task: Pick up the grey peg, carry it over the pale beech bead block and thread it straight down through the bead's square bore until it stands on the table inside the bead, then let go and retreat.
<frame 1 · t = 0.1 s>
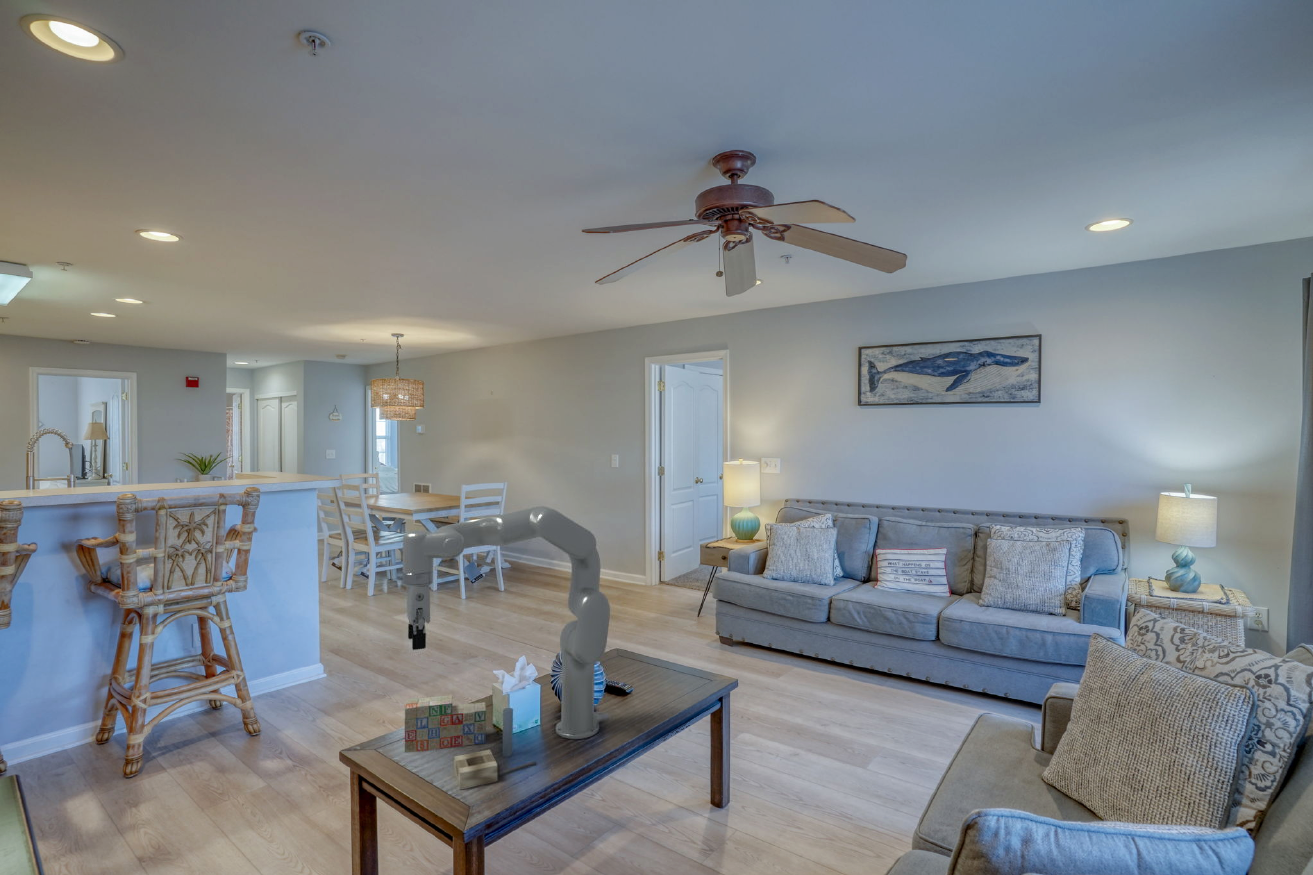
hand: (416, 643, 167), 31 cm above the table, fingers open, 9 cm apart
bead: (475, 776, 160), on the table
stack of blocks: (445, 744, 178), on the table
dark brown rod: (517, 769, 164), on the table
grey peg: (507, 754, 171), on the table
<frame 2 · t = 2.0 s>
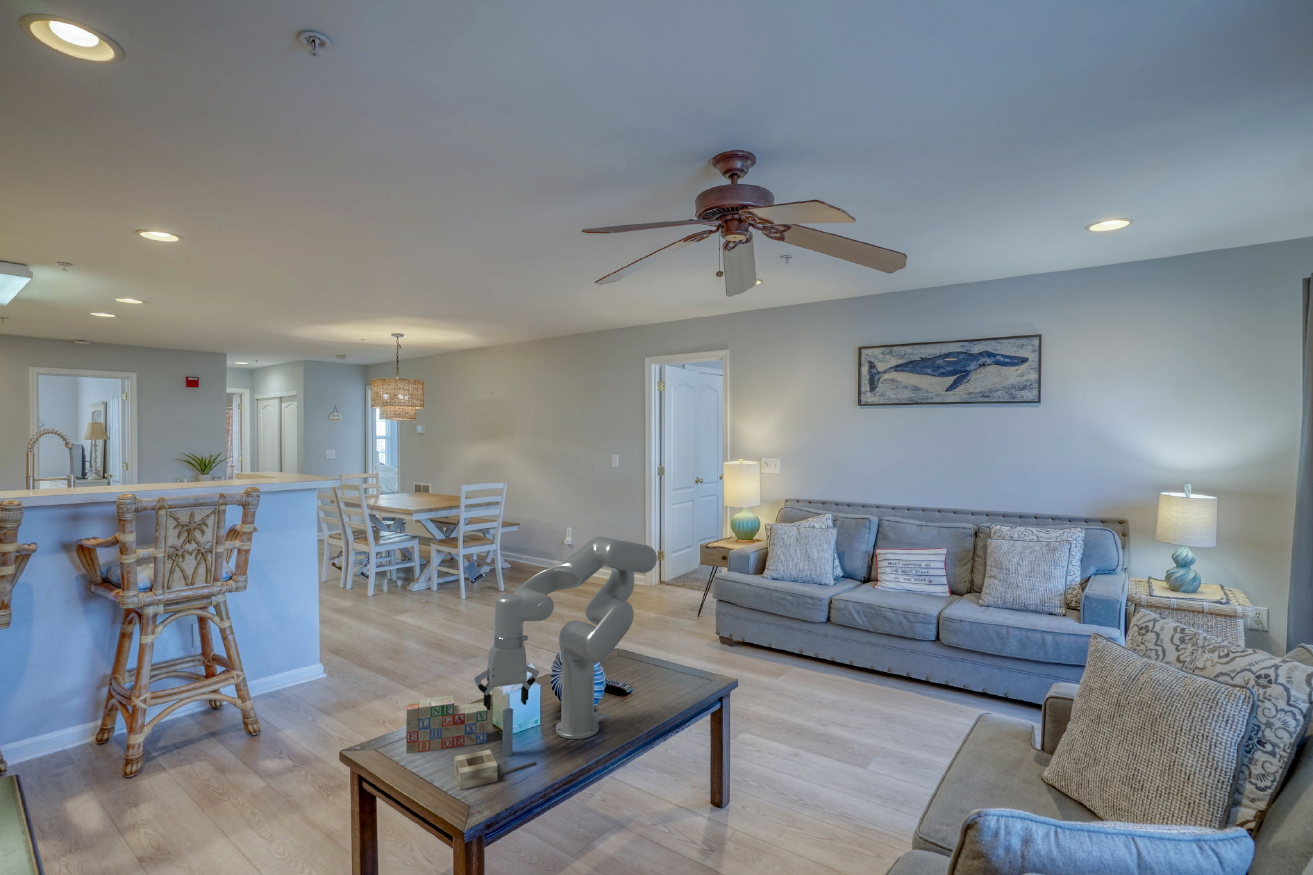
hand: (505, 705, 171), 13 cm above the table, fingers open, 9 cm apart
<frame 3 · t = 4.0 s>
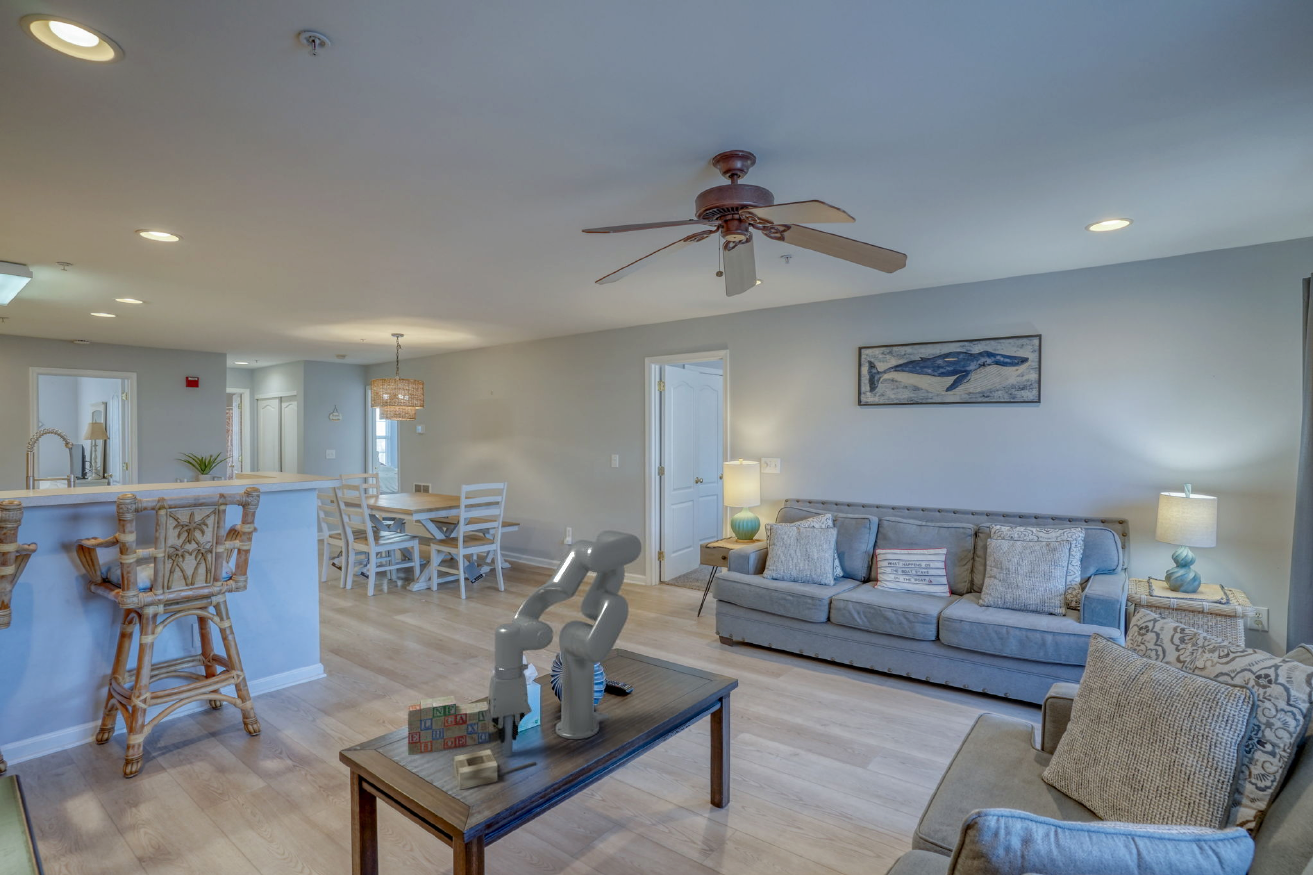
hand: (507, 738, 171), 4 cm above the table, fingers closed on grey peg, 2 cm apart
grey peg: (507, 754, 171), on the table, touching gripper
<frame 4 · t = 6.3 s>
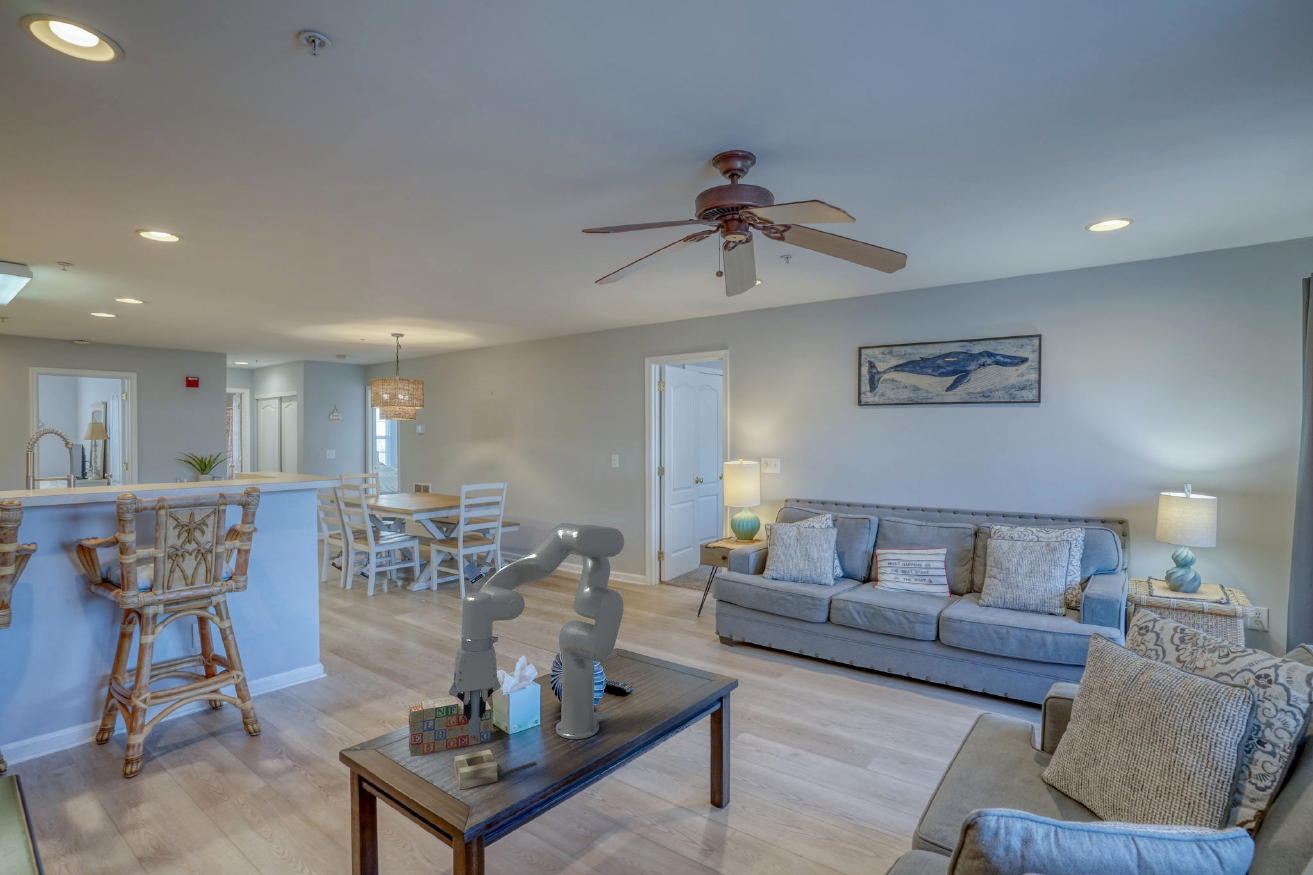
hand: (474, 716, 160), 15 cm above the table, fingers closed on grey peg, 2 cm apart
grey peg: (473, 733, 159), point 11 cm above the table, touching gripper
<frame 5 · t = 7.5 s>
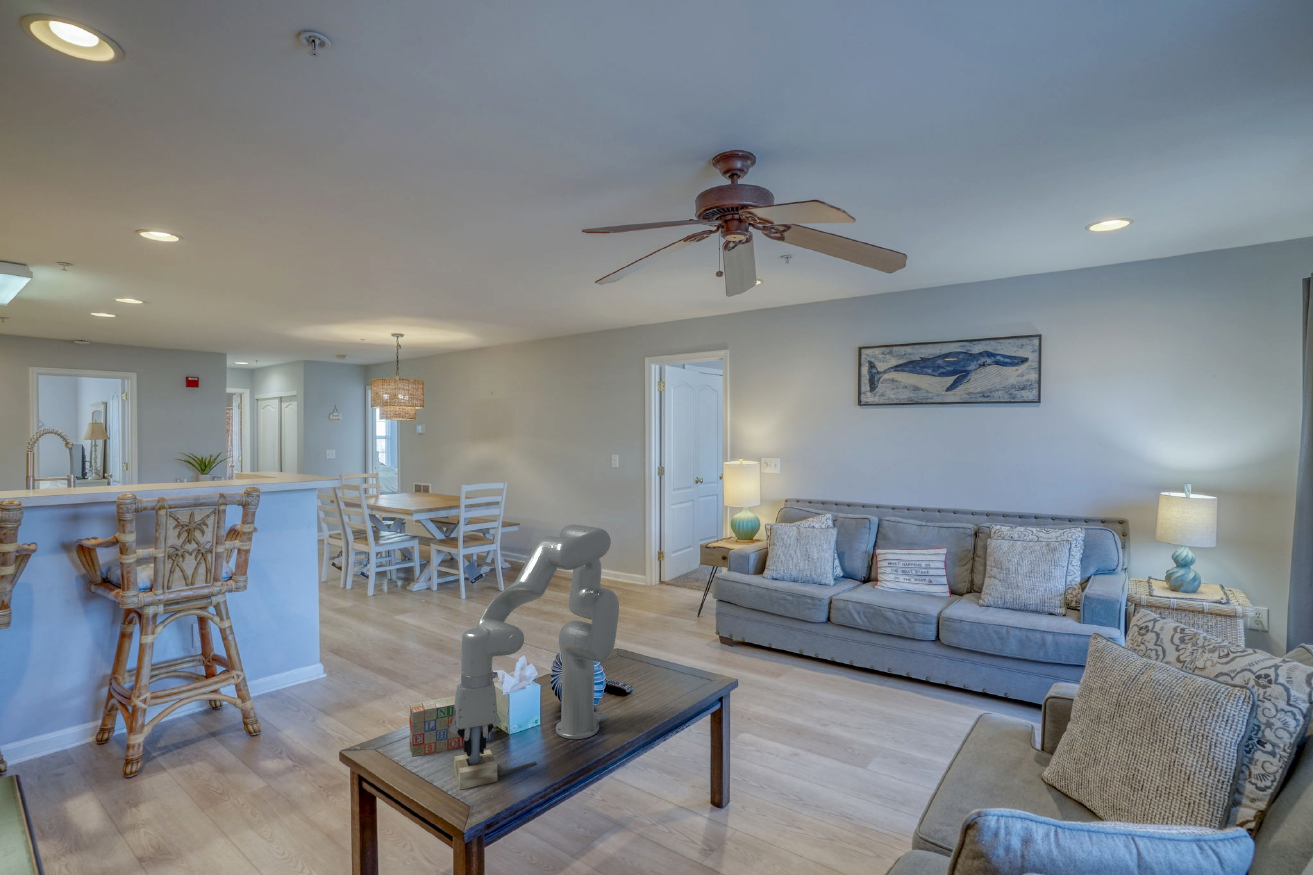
hand: (474, 752, 160), 6 cm above the table, fingers closed on grey peg, 2 cm apart
grey peg: (474, 768, 160), point 2 cm above the table, touching gripper
when the fingers open (5 cm above the table, at t = 8.7 s): grey peg stays where it is, resting in bead.
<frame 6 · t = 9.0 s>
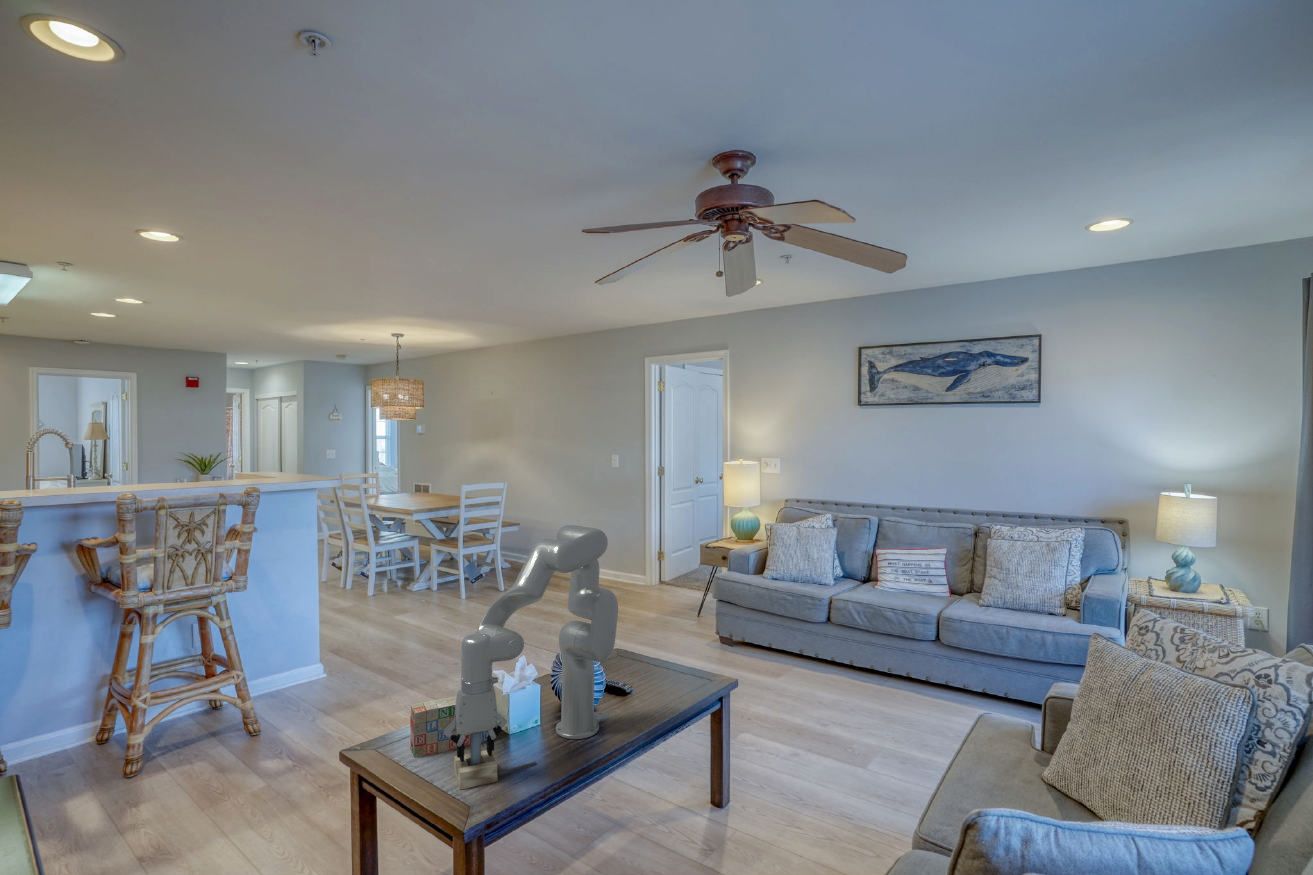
hand: (475, 755, 160), 5 cm above the table, fingers open, 6 cm apart
grey peg: (475, 776, 160), resting in bead
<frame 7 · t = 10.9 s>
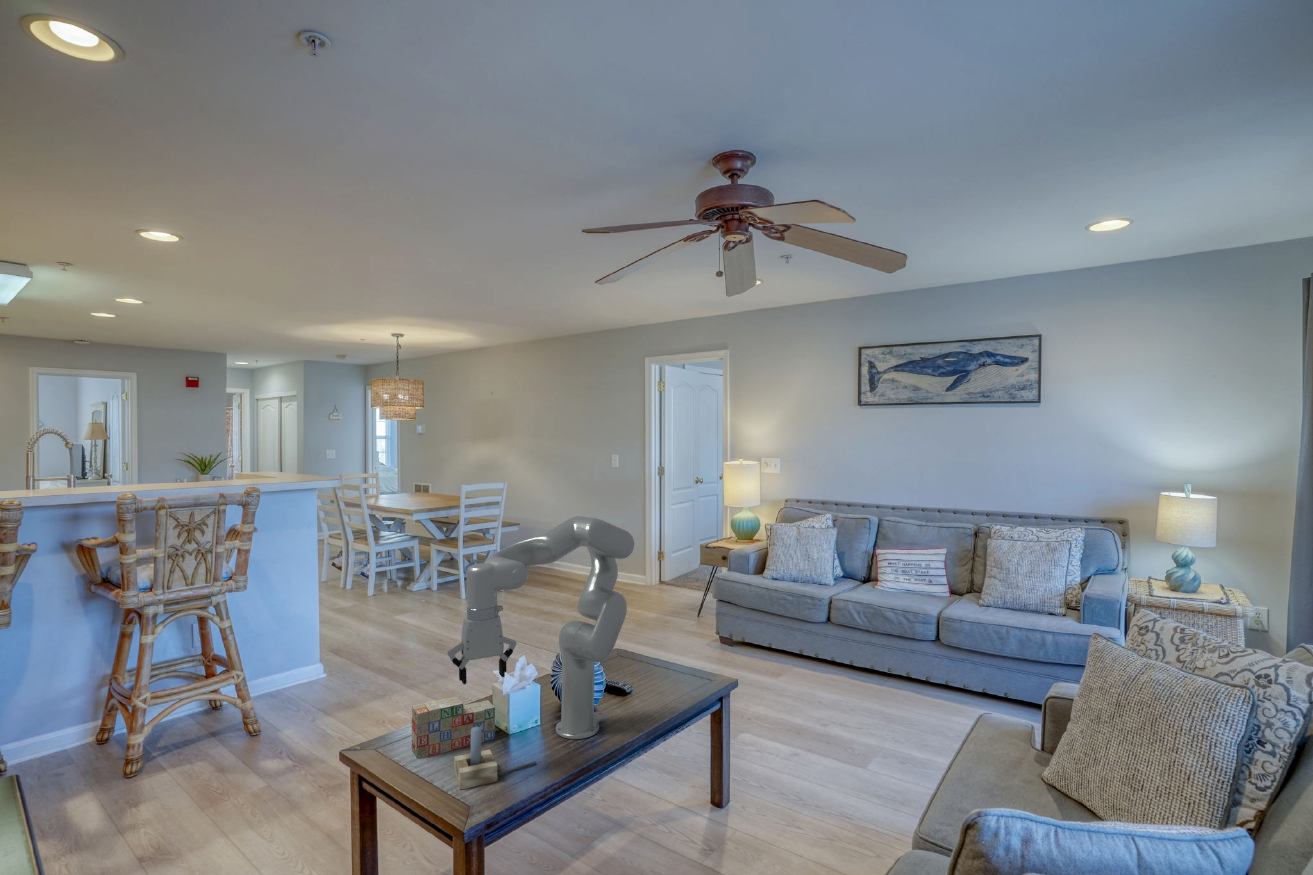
hand: (483, 678, 163), 23 cm above the table, fingers open, 9 cm apart
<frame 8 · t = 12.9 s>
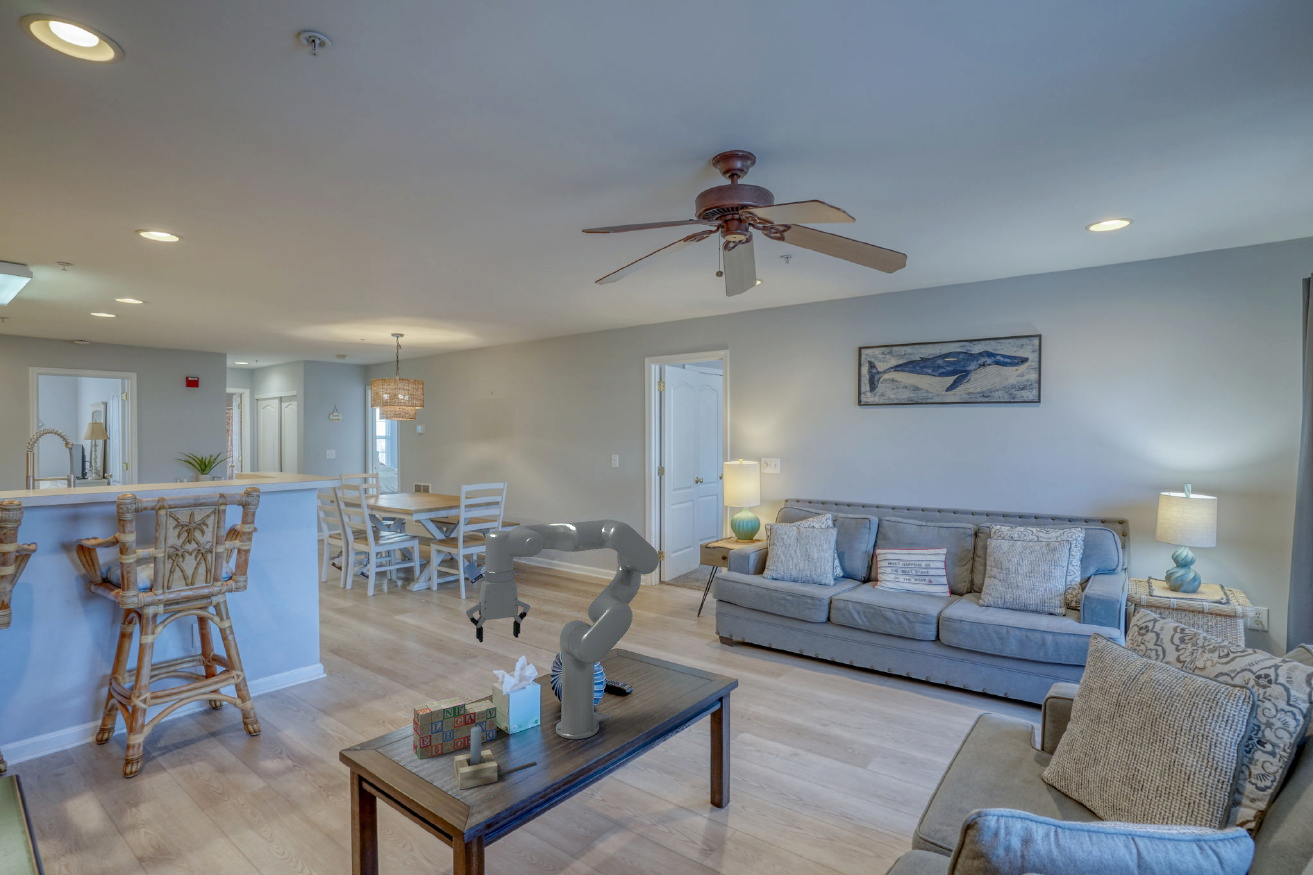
hand: (498, 638, 174), 30 cm above the table, fingers open, 9 cm apart
at the end: grey peg 0.1 cm off-centre on the bead, point 0.0 cm above the bead's base; grey peg tilted 0°; the gripper is holding nothing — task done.
